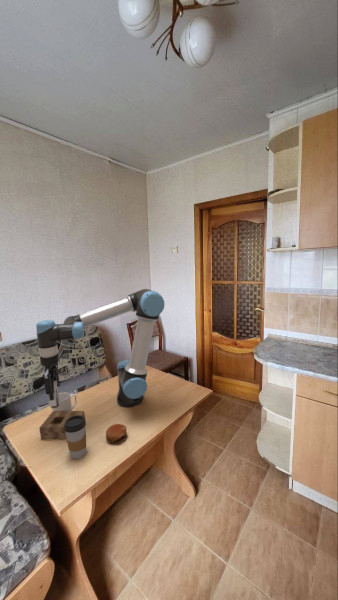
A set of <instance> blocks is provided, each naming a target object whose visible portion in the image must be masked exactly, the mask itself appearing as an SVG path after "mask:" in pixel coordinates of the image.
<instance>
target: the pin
mask: <svg viewBox="0 0 338 600" xmlns="http://www.w3.org/2000/svg"><path fill="white" fill-rule="evenodd" d="M58 391H59V389H58V390H57V381H56V380H54V392H55V395H56V403H57V405H56V406H50V408H51V409H53V408H57V407H58V406H59V399H58Z"/></svg>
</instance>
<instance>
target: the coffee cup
mask: <svg viewBox="0 0 338 600" xmlns="http://www.w3.org/2000/svg"><path fill="white" fill-rule="evenodd" d="M86 426H87V423H86V418H85V419H84V417H83V416H81V415H76V416H72V417H70V418H68V419H67V420H66V422H65V425H64V430H65V433H66V439H65V440H66V443H67V447H68V450H69V456H70V458H72V459H74V460H79V459H81V458H83V457H84V456H85V455H86V453H87V431H86V430H87V429H86Z"/></svg>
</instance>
